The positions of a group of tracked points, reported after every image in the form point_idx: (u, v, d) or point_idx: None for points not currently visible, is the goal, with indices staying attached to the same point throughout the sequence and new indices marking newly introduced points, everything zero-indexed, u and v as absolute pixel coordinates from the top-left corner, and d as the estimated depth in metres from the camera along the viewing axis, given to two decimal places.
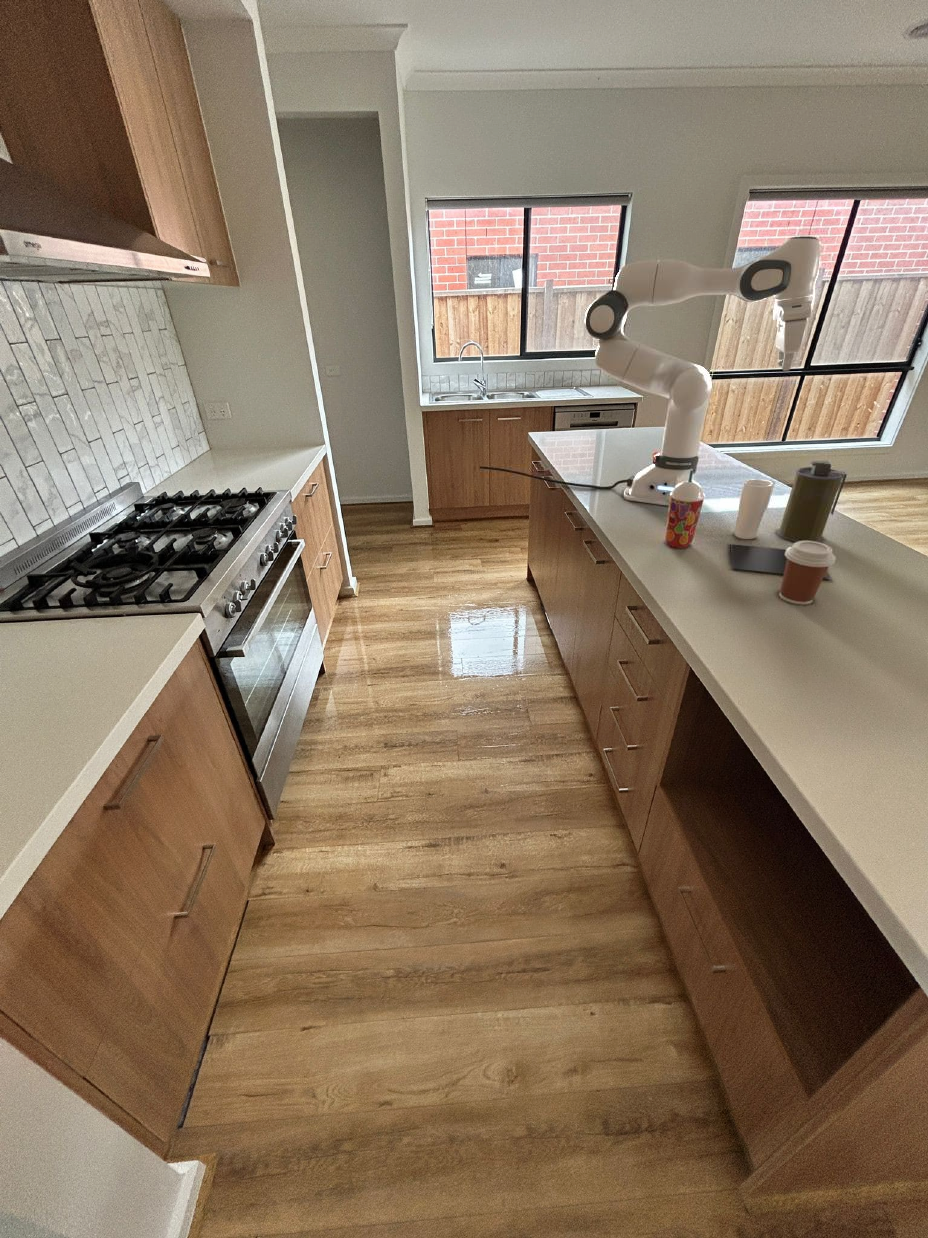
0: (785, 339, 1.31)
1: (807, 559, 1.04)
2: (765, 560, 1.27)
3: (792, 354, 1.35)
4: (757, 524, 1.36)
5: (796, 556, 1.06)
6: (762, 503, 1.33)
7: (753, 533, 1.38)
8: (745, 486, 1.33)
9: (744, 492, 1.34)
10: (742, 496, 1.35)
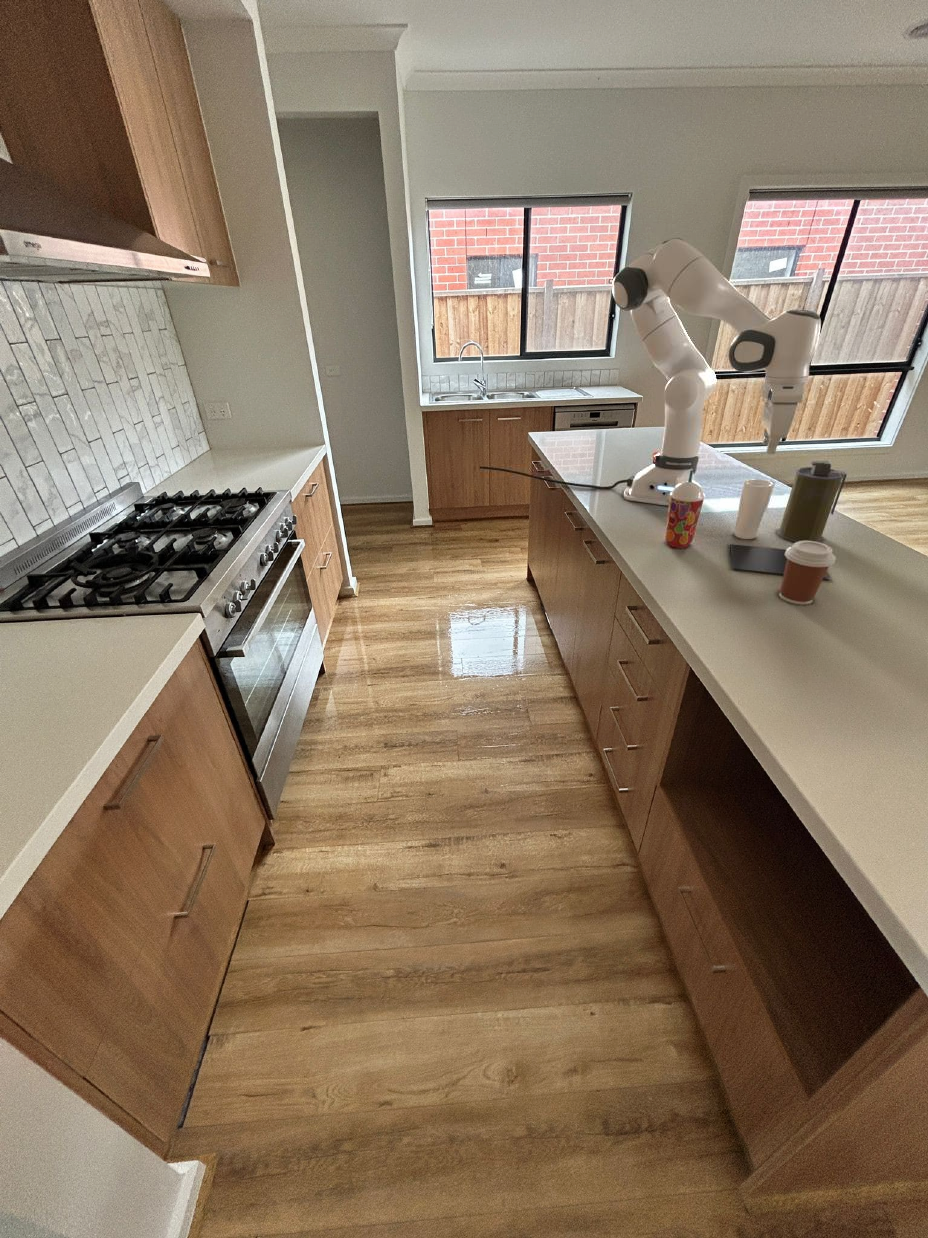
0: (772, 423, 1.17)
1: (807, 559, 1.04)
2: (765, 560, 1.27)
3: (778, 438, 1.21)
4: (757, 524, 1.36)
5: (796, 556, 1.06)
6: (762, 503, 1.33)
7: (753, 533, 1.38)
8: (745, 486, 1.33)
9: (744, 492, 1.34)
10: (742, 496, 1.35)
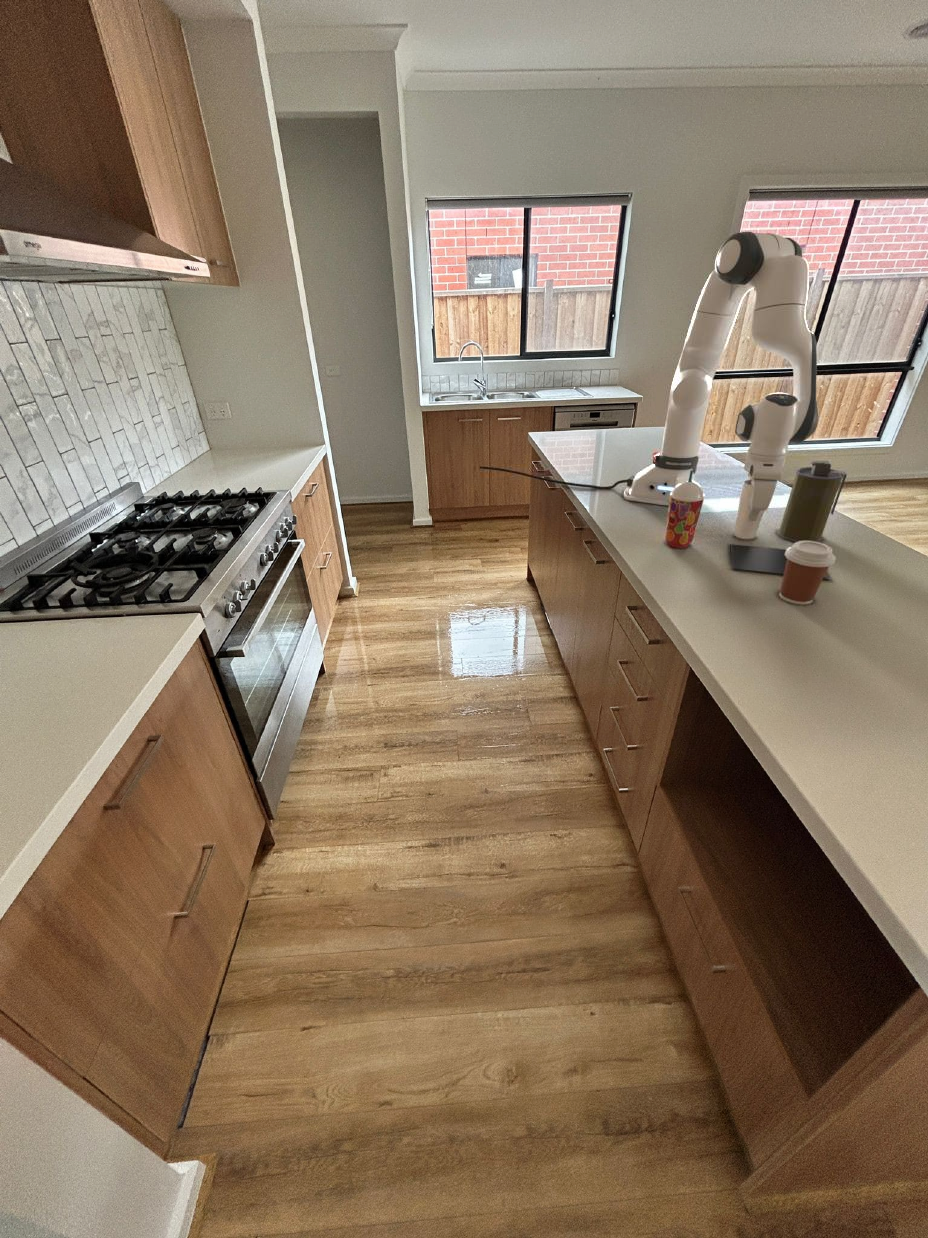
0: (753, 497, 1.26)
1: (807, 559, 1.04)
2: (765, 560, 1.27)
3: None
4: (757, 524, 1.36)
5: (796, 556, 1.06)
6: None
7: (753, 533, 1.38)
8: (744, 486, 1.33)
9: (743, 492, 1.34)
10: (742, 496, 1.35)
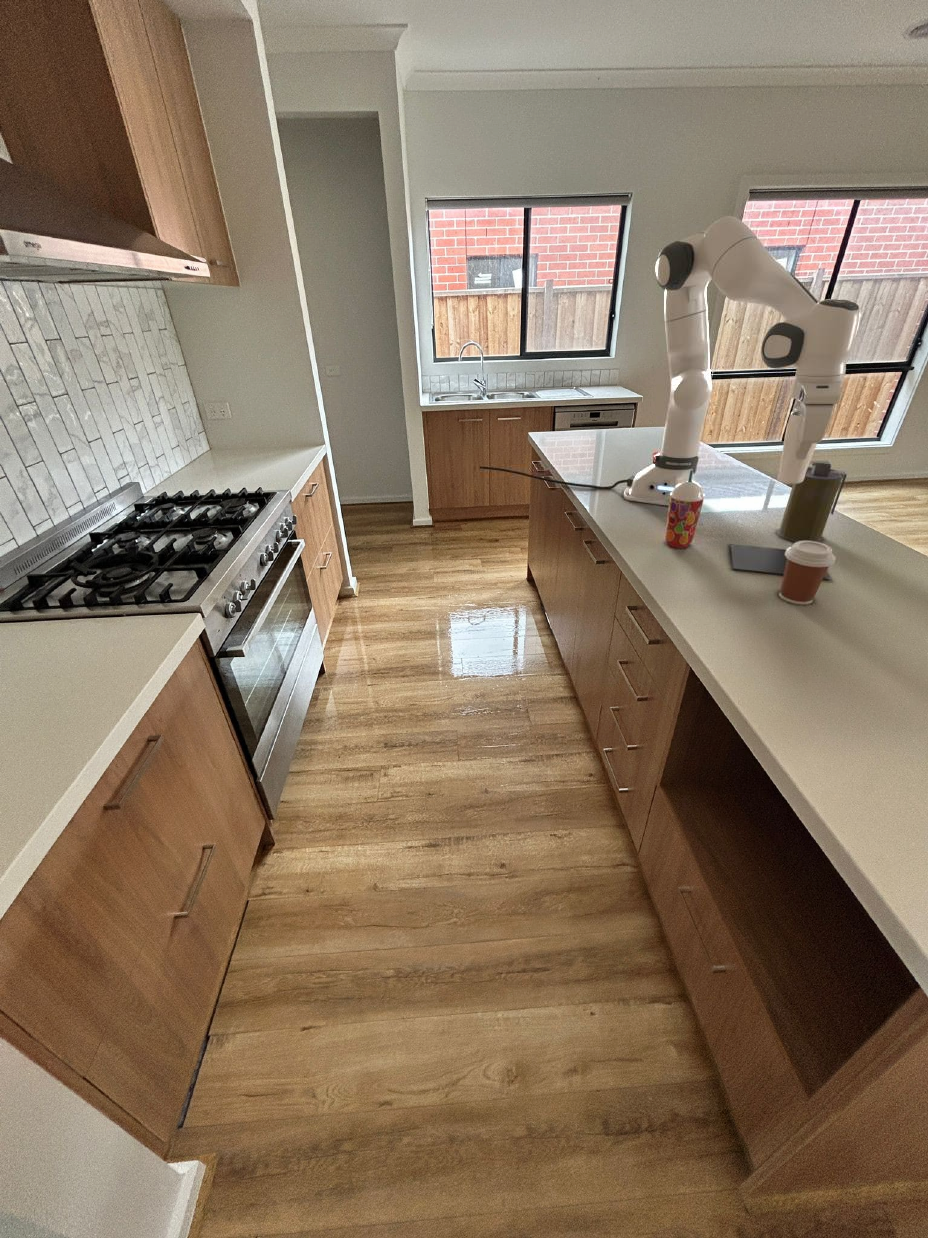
0: (805, 427, 1.05)
1: (807, 559, 1.04)
2: (765, 560, 1.27)
3: (810, 442, 1.10)
4: (806, 464, 1.15)
5: (796, 556, 1.06)
6: None
7: (801, 476, 1.16)
8: (792, 418, 1.12)
9: (790, 426, 1.13)
10: (788, 431, 1.14)
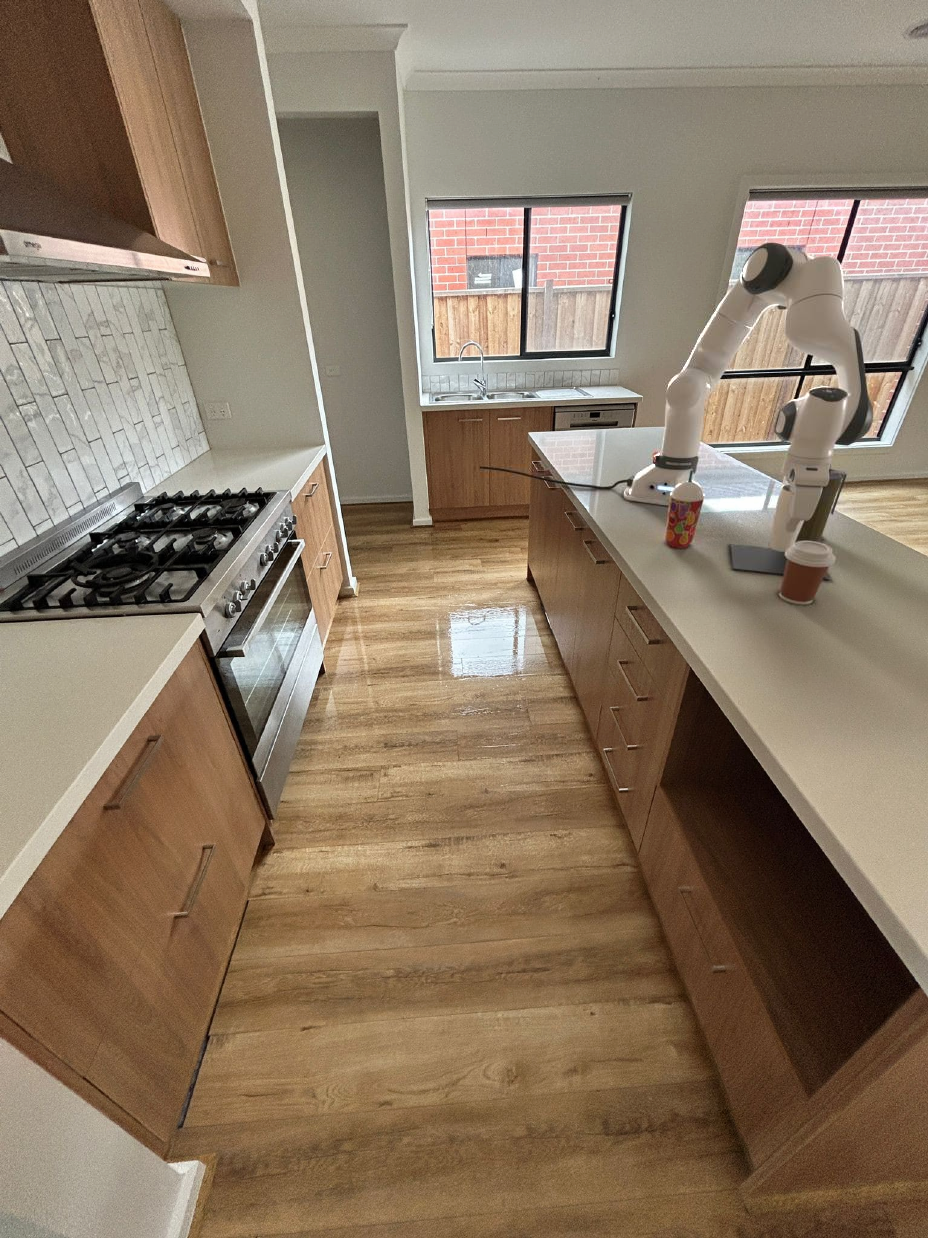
0: (794, 506, 1.11)
1: (807, 559, 1.04)
2: (765, 560, 1.27)
3: None
4: (795, 535, 1.21)
5: (796, 556, 1.06)
6: None
7: (791, 545, 1.22)
8: (783, 493, 1.18)
9: (781, 499, 1.18)
10: (779, 504, 1.20)
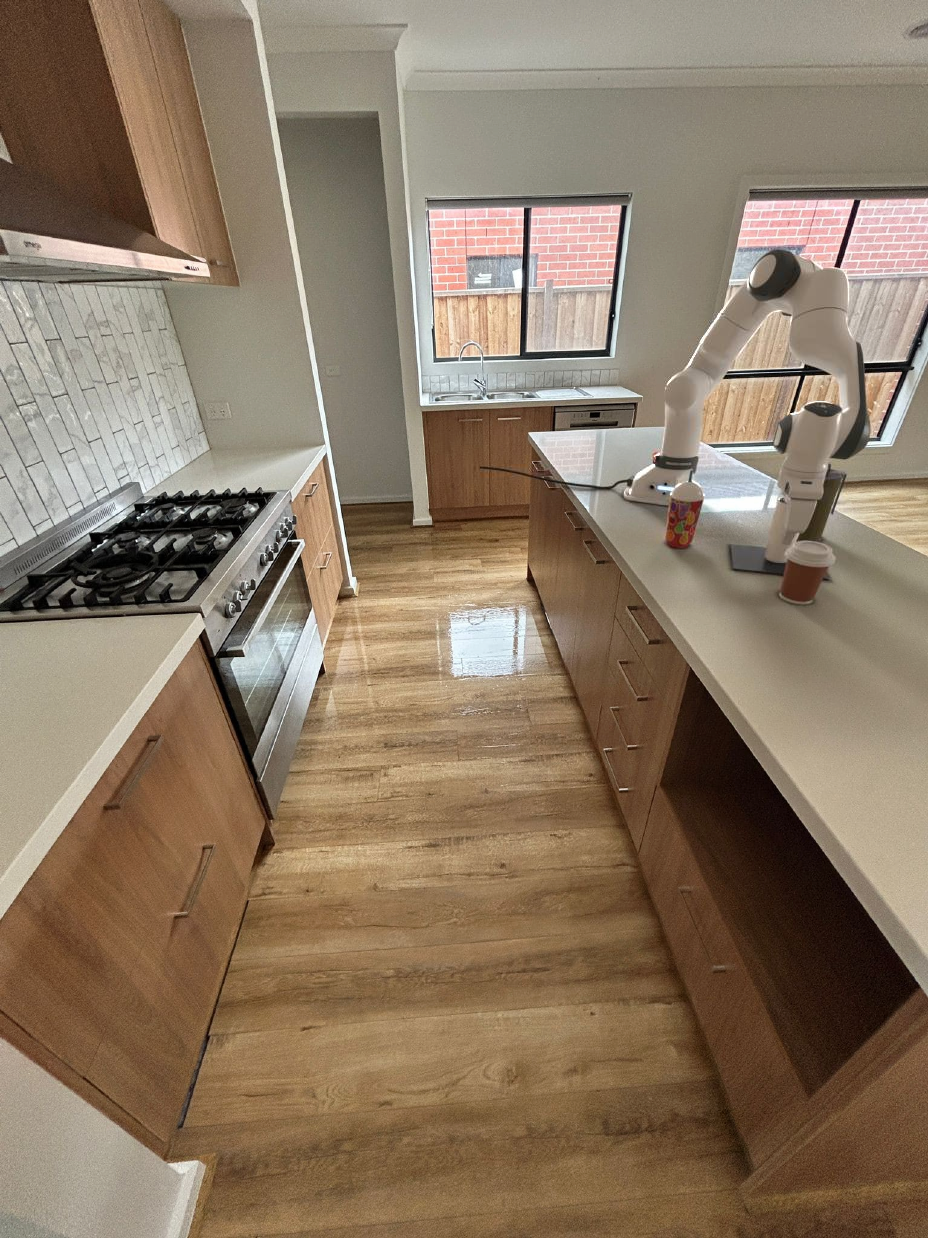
0: (789, 518, 1.12)
1: (807, 559, 1.04)
2: (765, 560, 1.27)
3: None
4: None
5: (796, 556, 1.06)
6: None
7: None
8: (779, 505, 1.20)
9: (778, 512, 1.20)
10: (775, 516, 1.21)
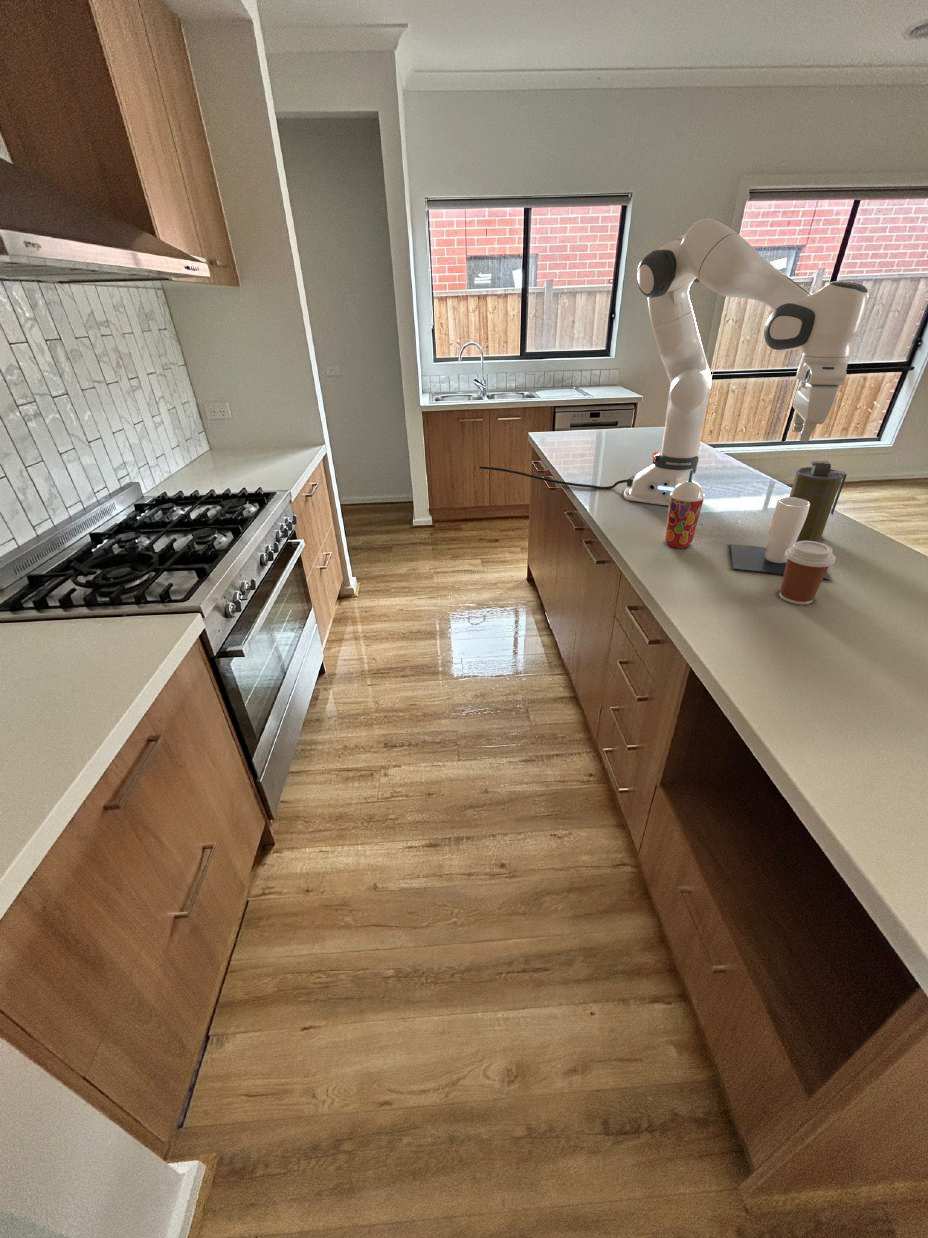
0: (809, 407, 1.07)
1: (807, 559, 1.04)
2: (765, 560, 1.27)
3: (814, 424, 1.11)
4: None
5: (796, 556, 1.06)
6: (798, 524, 1.19)
7: None
8: (779, 505, 1.20)
9: (778, 512, 1.20)
10: (775, 516, 1.21)
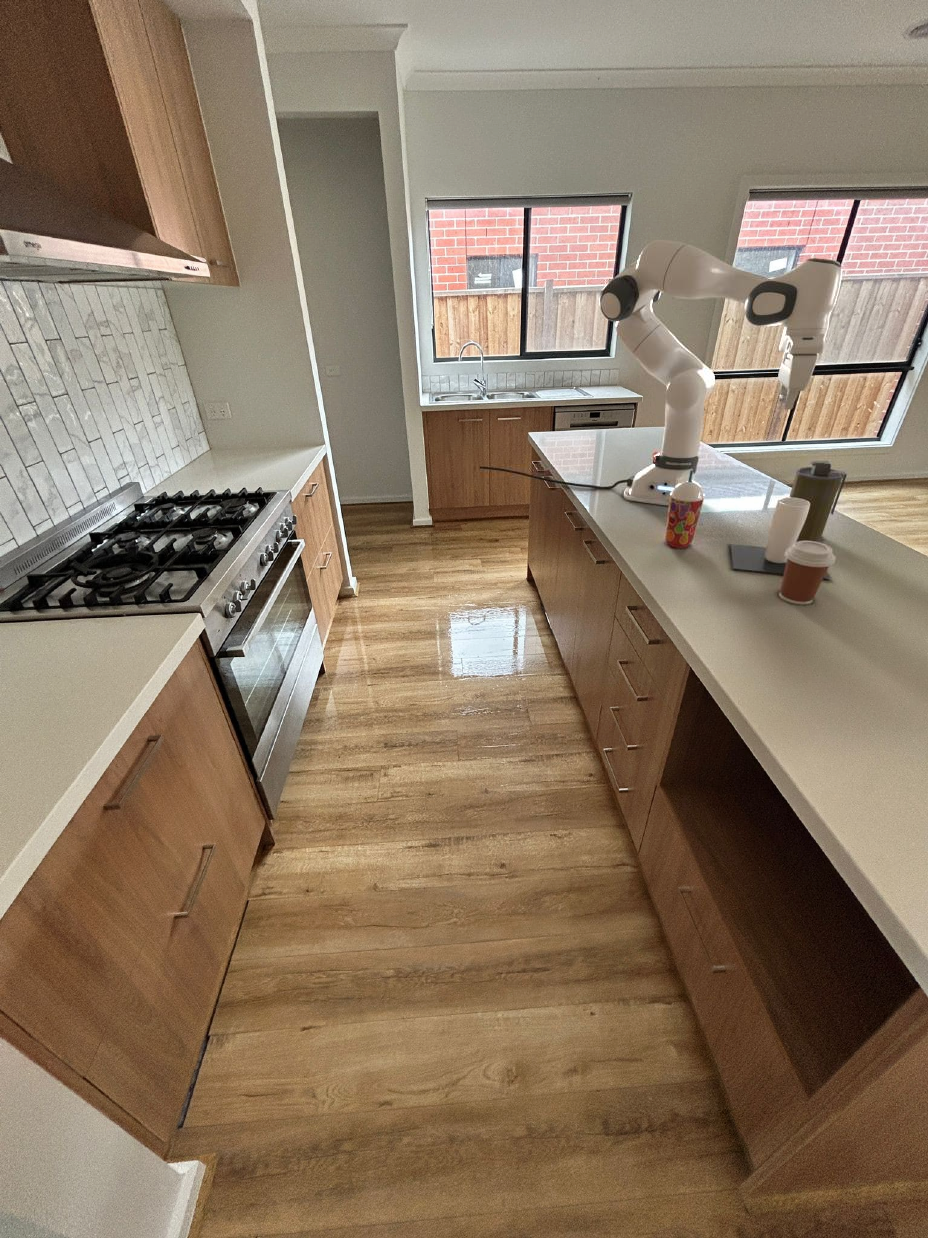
0: (791, 375, 1.15)
1: (807, 559, 1.04)
2: (765, 560, 1.27)
3: (796, 392, 1.19)
4: None
5: (796, 556, 1.06)
6: (798, 524, 1.19)
7: None
8: (779, 505, 1.20)
9: (778, 512, 1.20)
10: (775, 516, 1.21)
